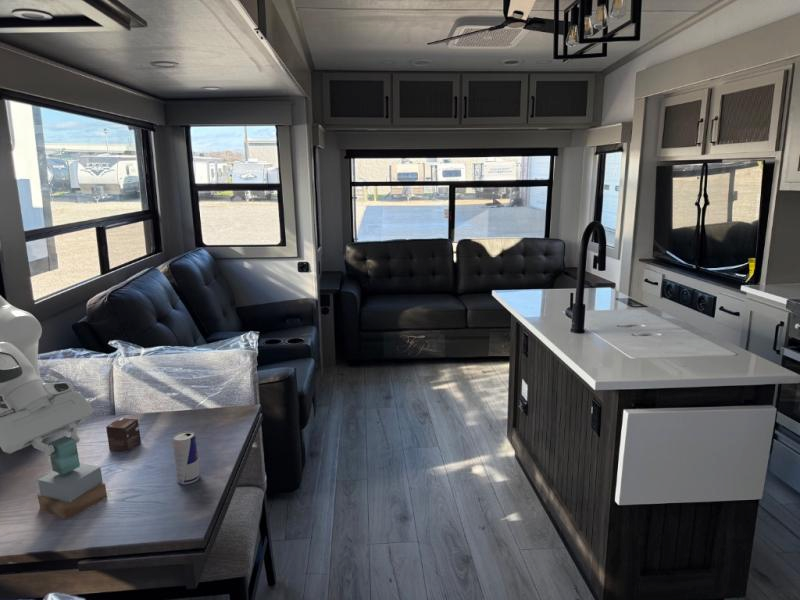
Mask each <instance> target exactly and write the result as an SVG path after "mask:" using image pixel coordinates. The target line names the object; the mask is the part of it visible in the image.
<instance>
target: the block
mask: <svg viewBox="0 0 800 600" xmlns="http://www.w3.org/2000/svg"><path fill="white" fill-rule="evenodd" d="M47 445H48V446H50V445H53V446H54V448H55V449H56V452H55V453H54V454H53V455H51V456H49V458H50V464H51V469H52V472H53V471H54V472H57V473H60V474H63V475H64V474H66V473H68V472H70V471H72V470H74V469H76V468H78V467H80V463H81V462H80V457H79V452H78V445H77V444H76V439H73V438H70V436H66V435H63V436H62V437H59V438H56V439H54V440H53V441H50V442H48V443H47ZM79 462H80V463H79Z"/></svg>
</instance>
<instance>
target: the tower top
mask: <svg viewBox="0 0 800 600" xmlns="http://www.w3.org/2000/svg"><path fill="white" fill-rule="evenodd" d="M79 463H80V467H78V468H76V469H74V470H72V471H70V472H68V473H66V474H64V475H63V474H60V473H57V472H54V471H53V470H52V471H51V472H49V473H48V474H46V475H44V476H42V477H41V478H39V479H37V481H38V486H39V492H40V493H39V494H41V495H42V496H46V497H50V498H54V499H58V500H62V501H66V502H71V501H73V500H75V499H76V498H78V497H79V496H81V495H83V494H84V493H86V492H87V491H89V490H90V489H92V488H94V487H95V486H97V485H98V484H100V483H101V482H102V483H104V481H103V476H102V469H101V466H99V465H93V464H88V463H84V462H80V461H79Z"/></svg>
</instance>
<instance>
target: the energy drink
mask: <svg viewBox="0 0 800 600" xmlns="http://www.w3.org/2000/svg"><path fill="white" fill-rule="evenodd" d="M172 446H173V448H172V449H173V454H174V455H173V456H174V462H175V463H174V465H175V472H176V478H177V482H178V483H179V484H180V485H191V484H194V483H195V482H197V481H199V478H200V477H201V474H200V466H199V465H200V464H199V456H198V455H199V454H198V448H197V436H196V435H195V432H193V431H190V430H185V431H180V432H177V433H176V434H174V435H173V437H172Z"/></svg>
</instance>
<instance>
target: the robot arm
mask: <svg viewBox="0 0 800 600" xmlns="http://www.w3.org/2000/svg"><path fill="white" fill-rule="evenodd" d="M42 333H43V329H42V325H41V323H40V321H39V320H38V319H37V318H36V317H35V316H34V315H33V314H32V313H31V312H29V311H26V310H23V309H20V308H18V307H16V306H14V305H12V304H10V303H9V302H8V301H7V300H6V299H5V298H4V297H3V296H2V295H0V449H1V450H2V451H3V452H4V453H6V454H12V453H15V452H16V451H19V450H21V449H24V448H26V447H28V446H31V445H32V447H33V448H34V449H37V450H39V451H40V452H44V454H45V456H46V457H50V456H51V455H53V454H54V453H55V452H56V449H55V448H54V446H53V445H50V446H48V444H45V442H44V443H43V440H44V439H47V438H49V437H51V436H54V435H56V434H59V433H60V432H63V431H65V430H66V431H67V433H70V436H69V438H73V439H76V445H77V444H78V443H80V441H81V440H80V439H81V438H80V437H79V436H78V434H77V433H78V432H77V429H78V426H77V425H79V424H82V423H84V422H87V421H88V420H89V419H90V418H91V416H92V415H93V407H92V406H91V404H90V403H89V401H88V400H87V399H86V398H85V397H84V396H83V394H82V393H80V392H78V391H76V390H73V389H74V385H73V384H72V383H71V382H70V381H62V382H45V381H44V380H43V379H42V378H41V372H40V368H39V359H38V358H39V357H38V355H39V354H38V353H39V340H40V339H41V337H42Z"/></svg>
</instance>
